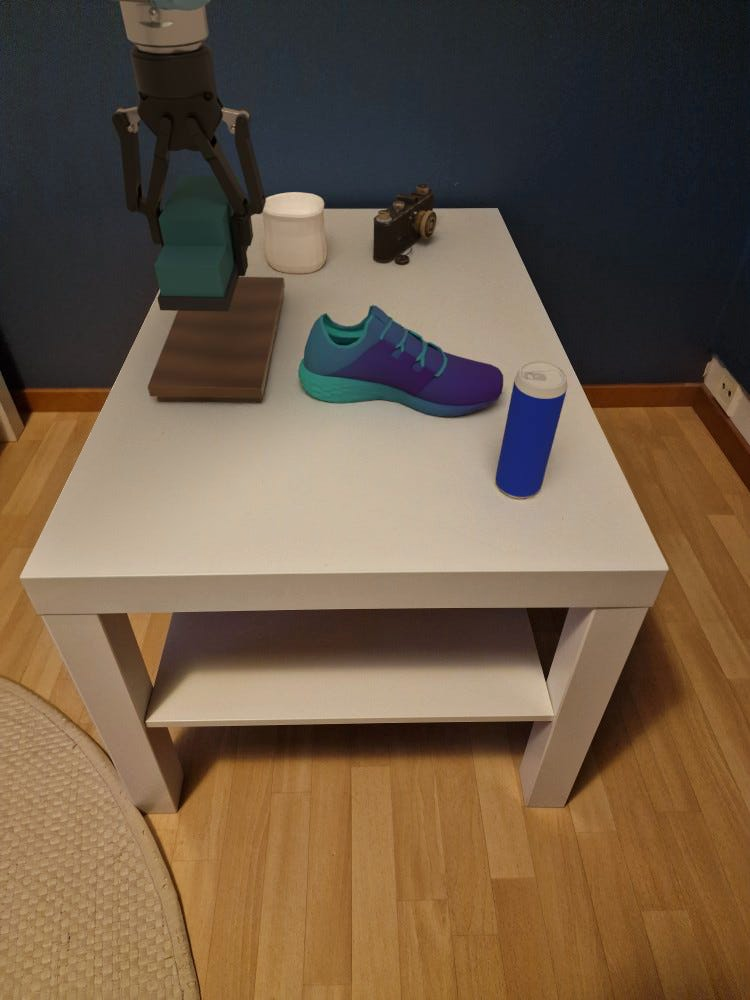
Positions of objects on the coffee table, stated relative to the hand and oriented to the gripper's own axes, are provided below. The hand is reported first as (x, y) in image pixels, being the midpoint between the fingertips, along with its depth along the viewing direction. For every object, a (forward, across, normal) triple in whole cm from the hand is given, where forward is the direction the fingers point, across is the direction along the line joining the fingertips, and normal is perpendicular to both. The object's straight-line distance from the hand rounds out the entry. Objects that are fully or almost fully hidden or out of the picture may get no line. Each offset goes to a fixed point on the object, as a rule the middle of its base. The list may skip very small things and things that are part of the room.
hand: (208, 269), depth 81 cm
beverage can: (+15, +36, -20) cm, 44 cm away
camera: (+15, +25, +38) cm, 48 cm away
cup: (+15, +7, +31) cm, 35 cm away
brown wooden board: (+15, -1, +7) cm, 16 cm away
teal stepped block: (0, 0, 0) cm, 0 cm away
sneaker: (+15, +23, -3) cm, 28 cm away
